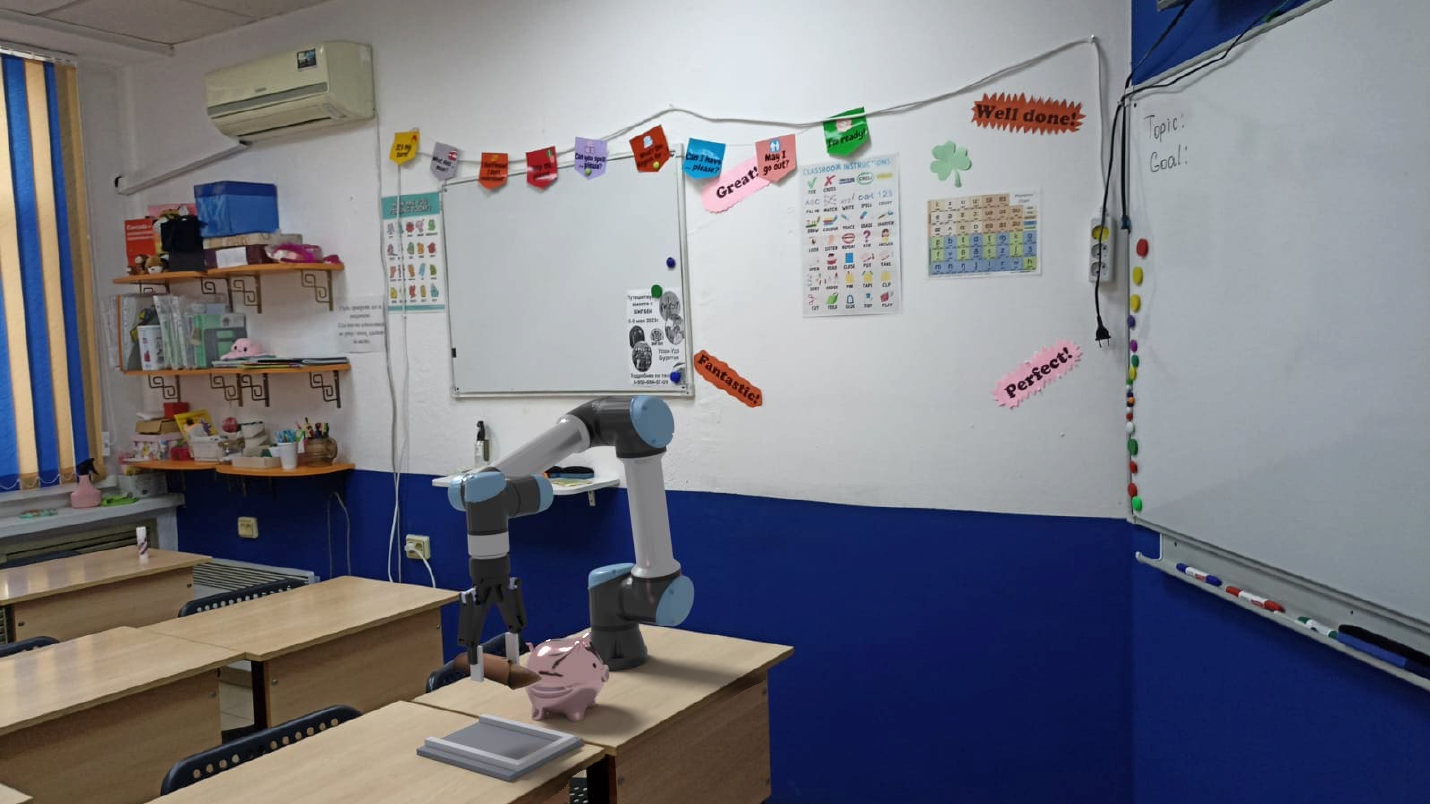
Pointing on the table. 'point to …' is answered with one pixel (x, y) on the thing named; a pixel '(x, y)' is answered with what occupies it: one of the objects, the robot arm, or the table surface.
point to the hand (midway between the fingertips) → (495, 673)
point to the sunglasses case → (499, 670)
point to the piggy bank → (565, 677)
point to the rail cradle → (499, 747)
